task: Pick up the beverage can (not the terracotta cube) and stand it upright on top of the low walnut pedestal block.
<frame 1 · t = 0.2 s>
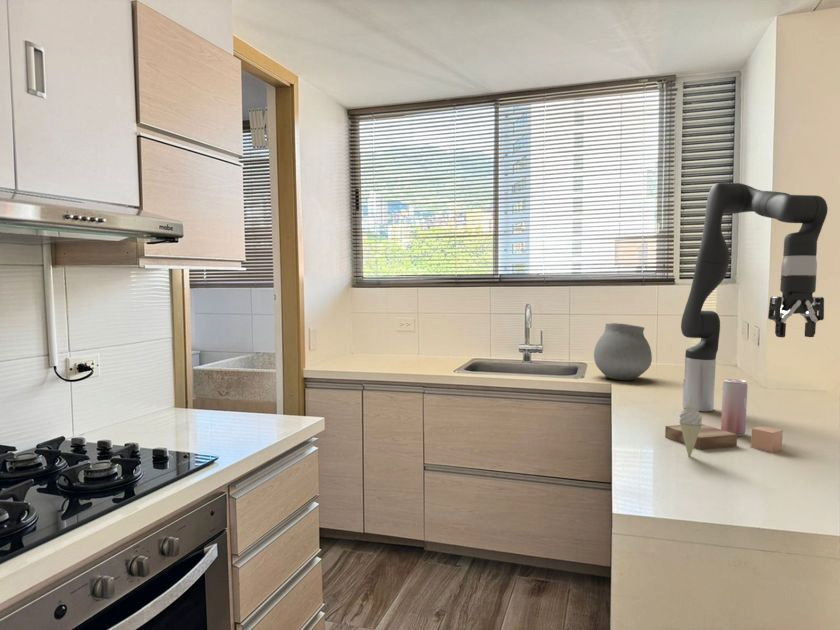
hand: (794, 337, 143), 28 cm above the countertop, fingers open, 8 cm apart
terracotta cube: (766, 448, 142), on the countertop
ice cream cone: (689, 457, 134), on the countertop
ceramic pot: (621, 379, 249), on the countertop
beverage can: (732, 434, 156), on the countertop
pedestal: (700, 441, 147), on the countertop
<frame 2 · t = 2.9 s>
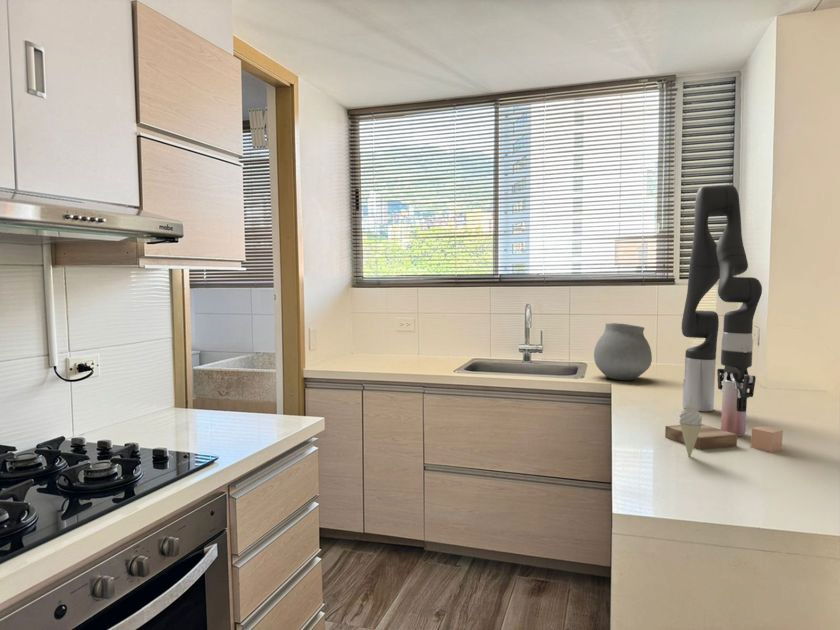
hand: (734, 408, 156), 7 cm above the countertop, fingers closed on beverage can, 6 cm apart
beverage can: (732, 434, 156), on the countertop, touching gripper
everything else where it was.
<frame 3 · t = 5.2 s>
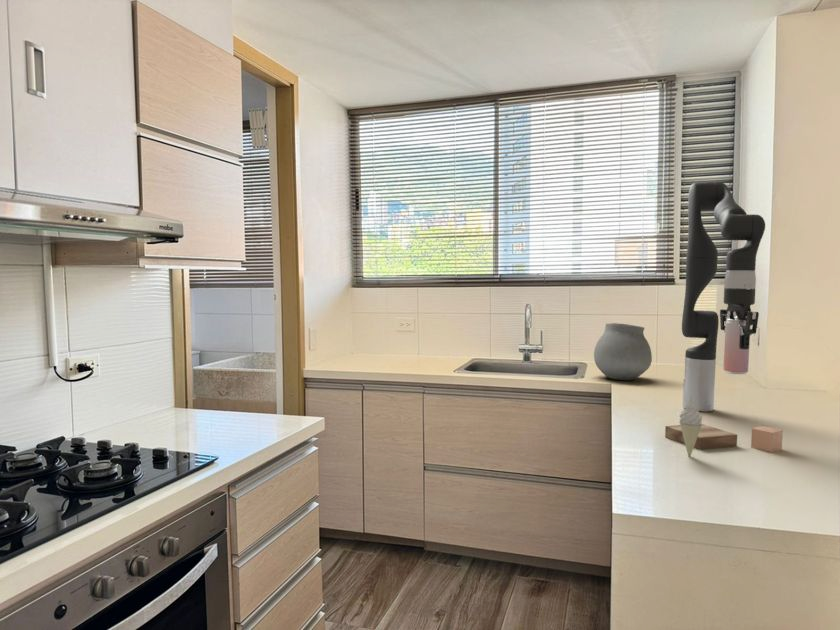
hand: (736, 347, 155), 24 cm above the countertop, fingers closed on beverage can, 6 cm apart
beverage can: (735, 373, 155), point 17 cm above the countertop, touching gripper
everything else where it was.
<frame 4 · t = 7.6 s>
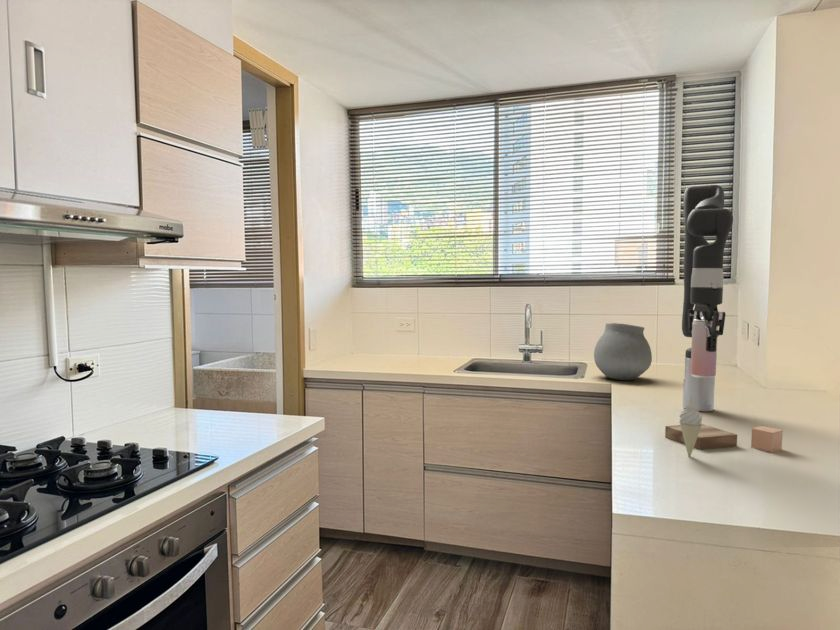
hand: (704, 349, 146), 24 cm above the countertop, fingers closed on beverage can, 6 cm apart
beverage can: (702, 377, 147), point 17 cm above the countertop, touching gripper
everything else where it was.
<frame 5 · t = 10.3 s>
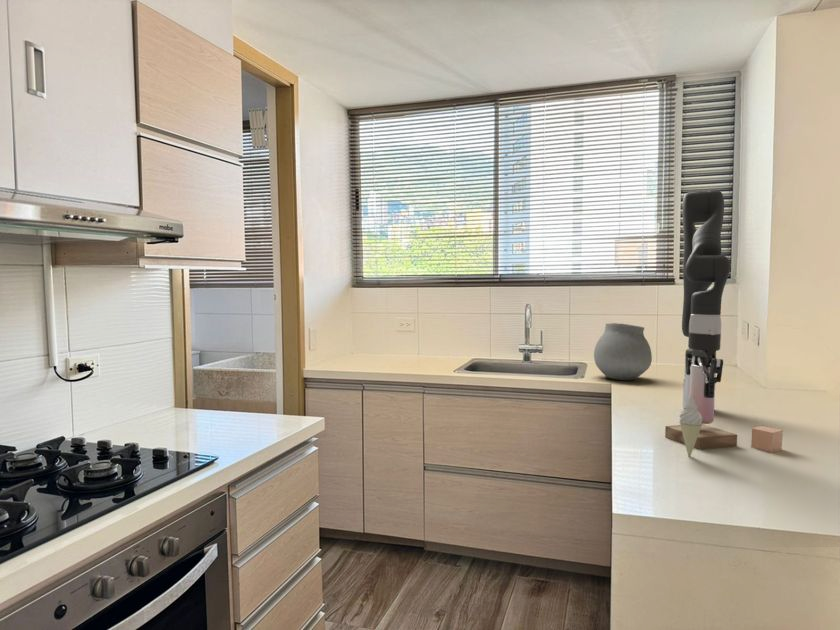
hand: (701, 394, 147), 12 cm above the countertop, fingers closed on beverage can, 6 cm apart
beverage can: (700, 422, 147), point 5 cm above the countertop, touching gripper
everything else where it was.
when the fingers open (10 cm above the countertop, at t = 12.6 s): beverage can stays where it is, resting on pedestal.
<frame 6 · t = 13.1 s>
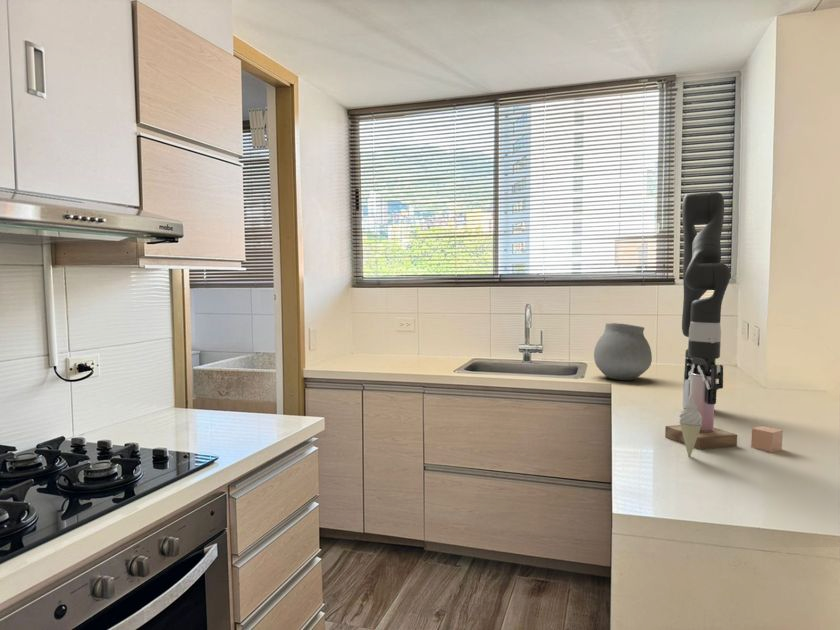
hand: (701, 400, 147), 11 cm above the countertop, fingers open, 8 cm apart
beverage can: (700, 430, 147), point 3 cm above the countertop, touching pedestal
everything else where it was.
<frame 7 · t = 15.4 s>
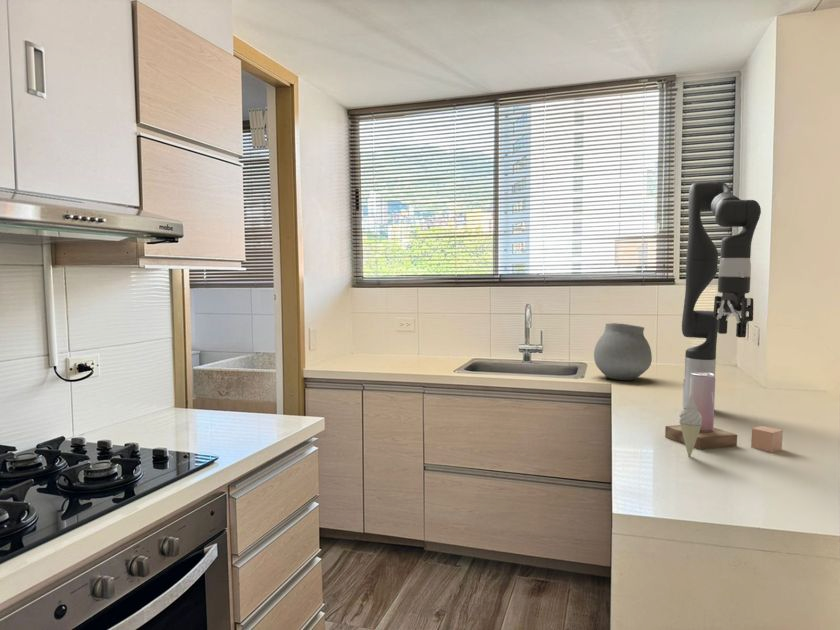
hand: (731, 335, 151), 28 cm above the countertop, fingers open, 8 cm apart
nothing on the countertop moved.
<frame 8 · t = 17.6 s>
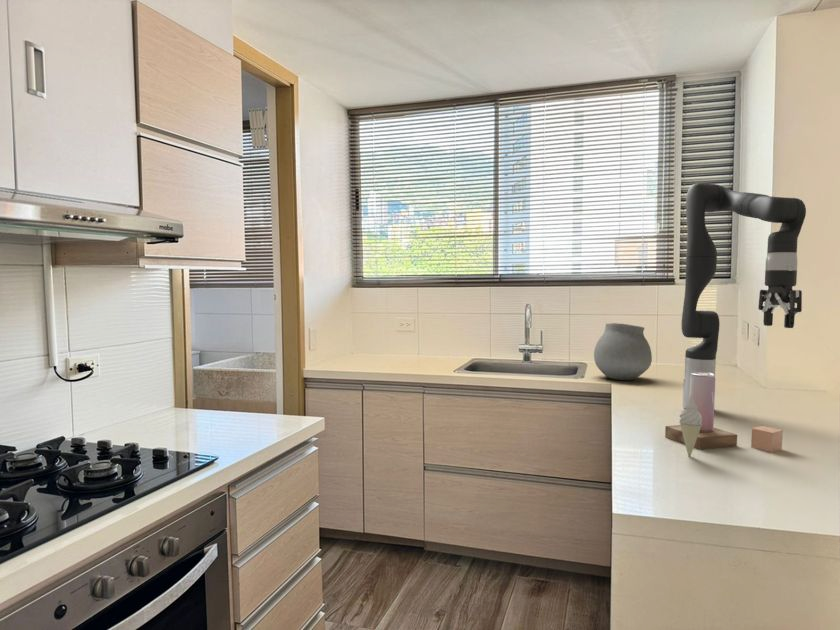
hand: (778, 326, 157), 30 cm above the countertop, fingers open, 8 cm apart
nothing on the countertop moved.
at the end: beverage can inside the target area on the pedestal (0.2 cm from its centre), point 2.8 cm above the pedestal's base; beverage can tilted 0°; the gripper is holding nothing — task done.
